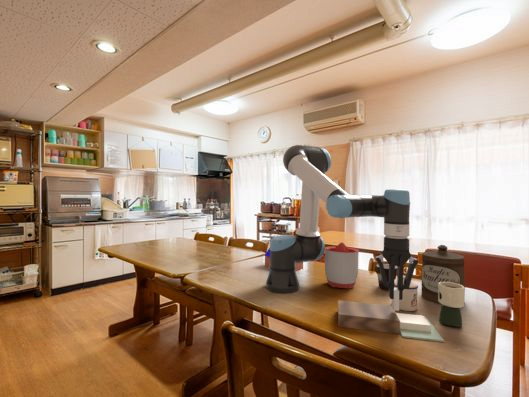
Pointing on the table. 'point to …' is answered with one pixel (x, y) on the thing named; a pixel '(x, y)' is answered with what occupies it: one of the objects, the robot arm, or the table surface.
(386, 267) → the coffee mug
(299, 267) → the house
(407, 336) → the mat
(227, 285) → the table surface
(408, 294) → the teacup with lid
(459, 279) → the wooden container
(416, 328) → the tile
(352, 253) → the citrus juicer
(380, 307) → the block
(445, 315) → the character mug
